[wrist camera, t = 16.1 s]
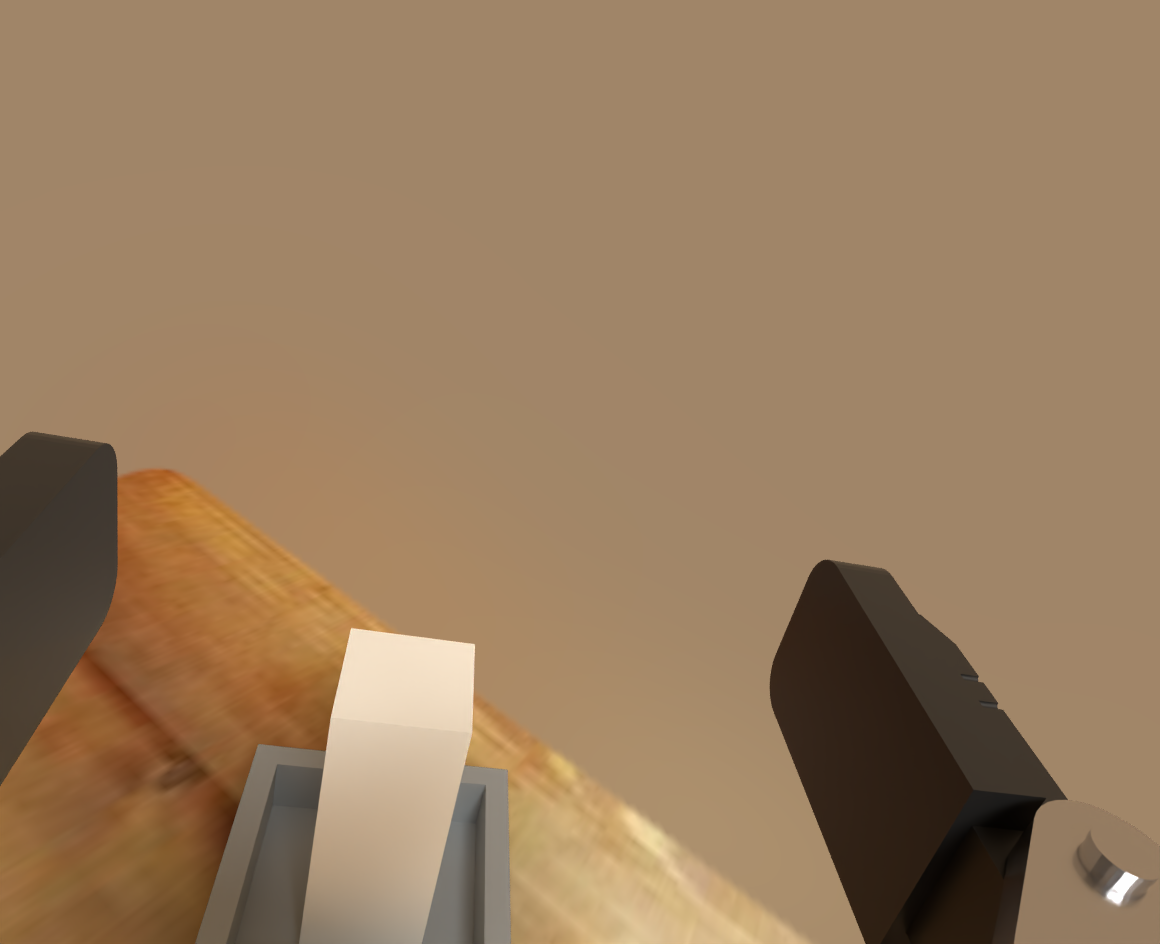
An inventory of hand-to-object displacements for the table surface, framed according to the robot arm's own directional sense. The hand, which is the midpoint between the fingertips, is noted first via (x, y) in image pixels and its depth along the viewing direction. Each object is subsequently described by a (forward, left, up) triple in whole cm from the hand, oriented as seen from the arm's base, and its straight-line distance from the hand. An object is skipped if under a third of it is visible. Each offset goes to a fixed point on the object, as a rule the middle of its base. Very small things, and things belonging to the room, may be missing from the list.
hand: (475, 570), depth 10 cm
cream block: (0, +15, -27) cm, 31 cm away
